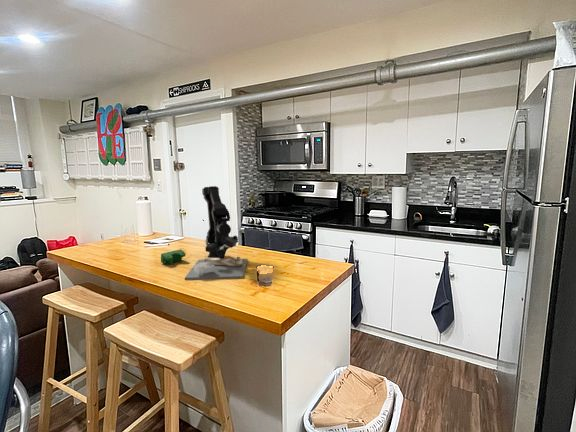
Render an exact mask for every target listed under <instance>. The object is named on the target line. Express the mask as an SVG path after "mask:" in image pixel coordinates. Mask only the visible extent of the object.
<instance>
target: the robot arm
mask: <svg viewBox="0 0 576 432" xmlns="http://www.w3.org/2000/svg"><path fill="white" fill-rule="evenodd" d="M201 191H202V196H203V199H204V201H205V202H206V204H207V214H208V215H207V216H208V226H209V229H208V230H207V233H206V237H205V245H206V246H205V252H206V253H208V255H207V257H208V258H223V259H225V256H226V252H227V250H229V249H230V248H231V249H232V248H233V247H236V246H237V244H238V243H239V237H238V236H237V235H233V236H230V233H231V231H232V228H231V226H230V225H229V224H228V222H230V221H231V216H230V211H229V209H228V208H227V206H226V204H224V203H223V202H222V200H221V196H220V188H219V186H216V185H212V186H211V185H210V186H204V187H203V188H202V190H201Z"/></svg>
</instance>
